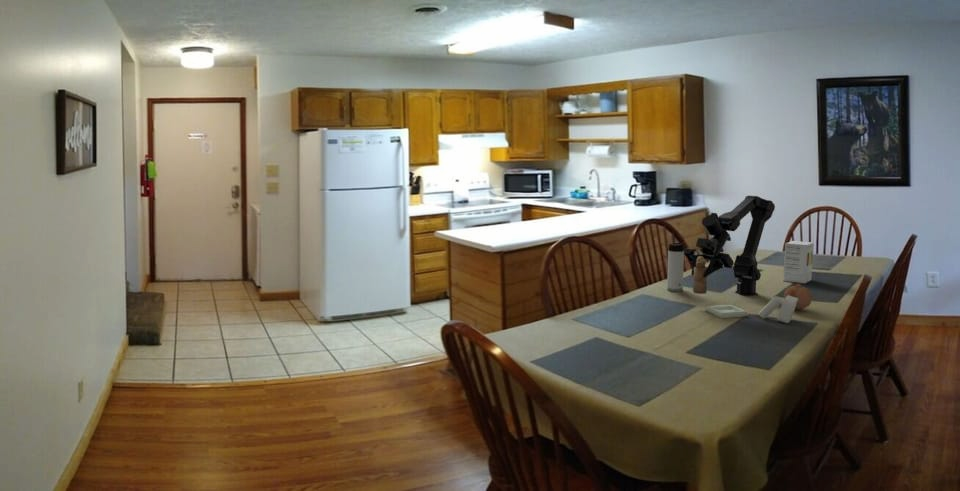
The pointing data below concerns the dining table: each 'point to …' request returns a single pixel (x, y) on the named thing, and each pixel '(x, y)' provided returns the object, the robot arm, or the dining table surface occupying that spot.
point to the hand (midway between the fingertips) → (698, 275)
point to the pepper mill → (700, 277)
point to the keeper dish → (726, 311)
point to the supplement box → (798, 261)
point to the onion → (799, 295)
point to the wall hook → (785, 310)
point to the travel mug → (675, 267)
